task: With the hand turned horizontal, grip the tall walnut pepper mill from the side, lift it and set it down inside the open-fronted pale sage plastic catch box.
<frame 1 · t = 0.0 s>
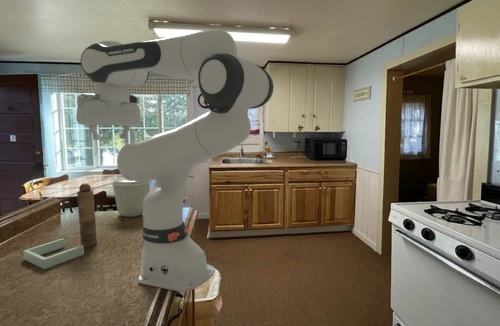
hand: (110, 139, 93), 39 cm above the kitchen counter, tool pointing down, fingers open, 8 cm apart
supplement bottle: (152, 237, 112), on the kitchen counter
pepper mill: (89, 244, 104), on the kitchen counter
canister: (133, 214, 141), on the kitchen counter
catch box: (54, 256, 94), on the kitchen counter
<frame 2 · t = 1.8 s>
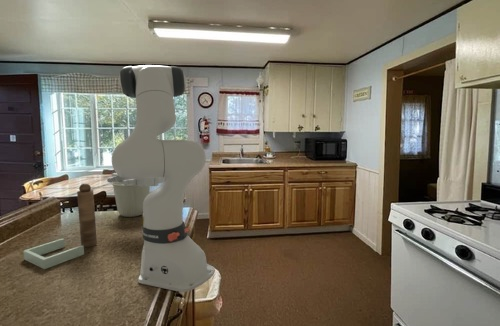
hand: (115, 181, 112), 21 cm above the kitchen counter, tool horizontal, fingers open, 8 cm apart
nothing on the kitchen counter moved.
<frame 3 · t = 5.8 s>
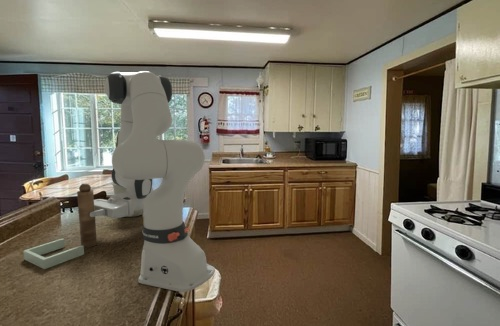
hand: (84, 213, 102), 12 cm above the kitchen counter, tool horizontal, fingers closed on pepper mill, 5 cm apart
pepper mill: (89, 244, 104), on the kitchen counter, touching gripper
everything else where it was.
when the fingers open (13 cm above the kitchen counter, at t = 10.1 s): pepper mill drops 1 cm, on the kitchen counter.
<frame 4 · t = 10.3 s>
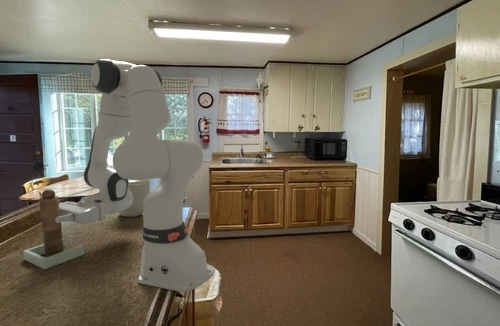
hand: (48, 218, 92), 13 cm above the kitchen counter, tool horizontal, fingers open, 7 cm apart
pepper mill: (55, 256, 94), on the kitchen counter
everything else where it was.
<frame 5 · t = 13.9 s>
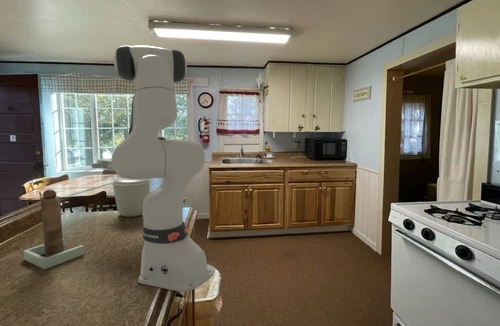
hand: (100, 167, 106), 28 cm above the kitchen counter, tool horizontal, fingers open, 8 cm apart
nothing on the kitchen counter moved.
at the end: pepper mill inside the target area (0.3 cm from its centre), on the kitchen counter; pepper mill tilted 0°; the gripper is holding nothing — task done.
